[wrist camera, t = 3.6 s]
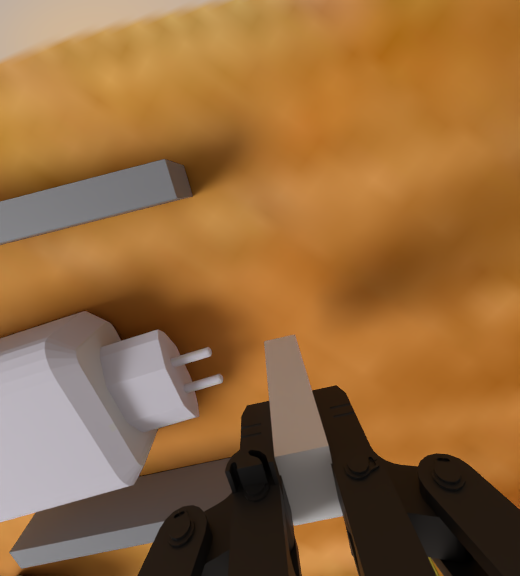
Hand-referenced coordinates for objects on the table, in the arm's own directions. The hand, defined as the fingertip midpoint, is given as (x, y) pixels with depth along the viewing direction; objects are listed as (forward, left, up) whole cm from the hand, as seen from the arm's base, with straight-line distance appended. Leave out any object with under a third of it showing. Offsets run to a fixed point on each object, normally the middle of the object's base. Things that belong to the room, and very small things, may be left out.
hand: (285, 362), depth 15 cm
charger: (+11, +1, -4) cm, 12 cm away
